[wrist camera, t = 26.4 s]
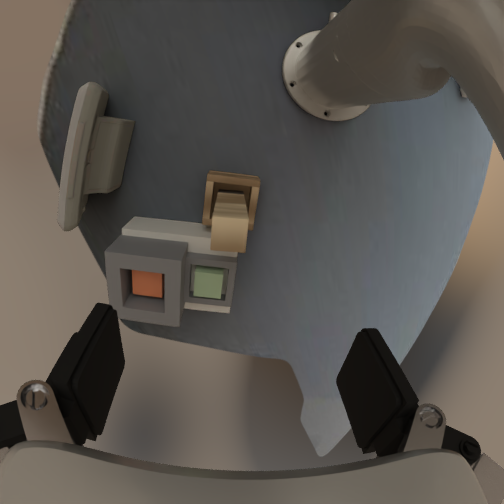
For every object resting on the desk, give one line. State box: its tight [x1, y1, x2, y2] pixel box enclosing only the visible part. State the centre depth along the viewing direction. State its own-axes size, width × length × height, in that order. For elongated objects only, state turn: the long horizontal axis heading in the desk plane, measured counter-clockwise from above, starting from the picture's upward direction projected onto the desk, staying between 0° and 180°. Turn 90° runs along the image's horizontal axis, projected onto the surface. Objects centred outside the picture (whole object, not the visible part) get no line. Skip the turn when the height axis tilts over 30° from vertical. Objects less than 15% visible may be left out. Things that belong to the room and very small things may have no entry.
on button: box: [193, 265, 224, 299], centre depth 34 cm, size 3×3×2 cm
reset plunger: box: [132, 270, 165, 298], centre depth 32 cm, size 4×4×2 cm
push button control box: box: [105, 216, 238, 327], centre depth 34 cm, size 10×14×10 cm
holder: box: [202, 170, 260, 231], centre depth 34 cm, size 6×6×4 cm
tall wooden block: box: [210, 189, 249, 253], centre depth 30 cm, size 3×3×12 cm
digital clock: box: [57, 82, 135, 231], centre depth 27 cm, size 16×9×11 cm, turn 151°
